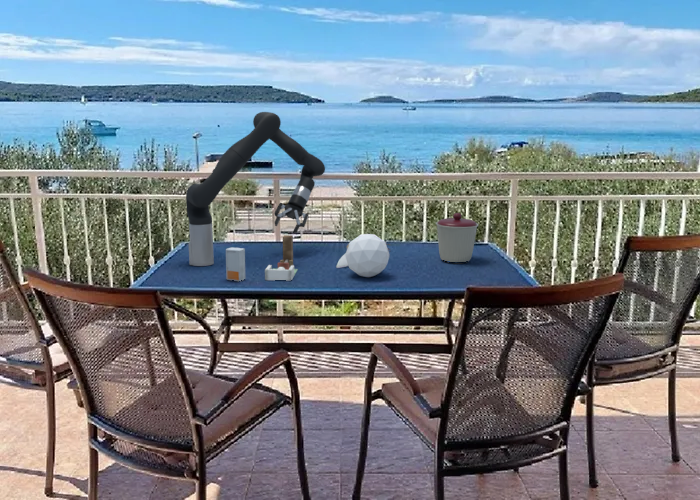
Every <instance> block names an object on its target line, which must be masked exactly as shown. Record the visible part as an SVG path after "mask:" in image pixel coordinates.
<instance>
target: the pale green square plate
mask: <svg viewBox="0 0 700 500" xmlns="http://www.w3.org/2000/svg"><path fill="white" fill-rule="evenodd" d="M272 269H275V268H274V267H272ZM298 270H299V269H298V268H294V276H295V275H296V274H297V272H298Z"/></svg>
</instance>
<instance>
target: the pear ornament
mask: <svg viewBox="0 0 700 500" xmlns="http://www.w3.org/2000/svg"><path fill="white" fill-rule="evenodd" d="M384 241H385V240H383V239H382V238H380V237H379V236H377V235H376V234H372V233H362V234H359V235H358V236H357V237H355V238H354V239H353V240H351V241H350V242H349V243H348V244H349V246H348V249H347V248H346V252H345V253H344V254H343V255H342V256H341V257H340V258H339V260H338V262H337V264H336V266H335V267H336V268H337V269H340V268H345V267H348V268H349V269H350V270H351V271H352V272H354V273H355V274H357V275H358V276H360V277H365V278H371V277H374V276H375V277H376V275H377V276H378V275H379V274H380V273H382V272H383V270H385V269H386V268H387V265H388V263H389V259H390V256H391V255H390V251H389V250H388V246H387V245H388V244H387V241H386V242H384Z"/></svg>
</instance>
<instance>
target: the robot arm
mask: <svg viewBox="0 0 700 500" xmlns="http://www.w3.org/2000/svg"><path fill="white" fill-rule="evenodd" d="M281 121H282V120H281V118H280V116H279V115H278V114H276V113H275V112H269V111H261V112H258V113H256V114H255V115H254V117H253V119H252V125H253V127H254V128H253V130H251V132H250V133H249V134H246V136H244V137H243V138H241V139H239V140H238V141H236V142H235V143H234V144H232V145H230V147H229V148H228V149H227V150H226V151H225V152H224V153H223V154H222V155H221V157H220V158H219V159H218V161H217V163H216V165H215V167H214V169H213V171H212V172H211V174H210V175H209V176H208V177H207V178H205V180H204V181H202V182H201V183H194V184H191V185H190V186H189V187H188V188H187V190H186V194H185V202H186V203H185V204H186V213H187V218H188V227H189V242H188V258H189V260H188V262H189V266H195V267H205V266H206V267H207V266H211V265H214V263H215V262H214V258H215V257H214V239H213V218H212V215H211V213H210V208H209V206H210V205H211V204H212V203H213V201H215V199H216V198H217V196H218V195H219V193H220V192H221V191H222V189H223V188H224V187H225V186H226V185H228V183H229V182H230V181H231V180H232V179H233V178H234V176H236V174H237V173H239V172H240V170H242V169H243V167H245V165H246V164H247V163H248V162H249V160H250V159H251V158H253V156H254V155H255V154H256V153H257V152H258V150H259V149H260V148H261V147H262V146H263V145H264V144H265V143H267V141H268V140H270V141H272V142H273V143H274V144H276V145H277V146H278V147H279V148H280V149H281V150H282V151H283V152H285V154H286V155H288V156H289V157H290V158H291V159H292V160H293V161H294V162H295V163H296V164H298V165H299V166H302V168H301V172H300V177H299V181H298V183H297V186H296V187H295V189H293V192H292V194H291V196H290V198H289V201H288V202H287V204H286V205H285V204H283V203H282V202H280V203H279V204H278V205H277V207H276V209H275V211H274V213H273V214H274V216H275V217H276V219H275V220H274V226H275V227H278V225H279V223H280V220H281V219H282V218H285V217H286V218H289V219H292V220H295V222H296V224H295V227H294V229H293V231H292V233H293V234H297V233H298V231H299V229H300V228H305V226H306V224H307V222H308V218H309V213H308V212H307V213H304V209H305V208H306V207H307V206H306V205H307V204H308V202H309V199H310V197H311V193H312V192H313V190H314V187H315V180H314V179H313V178H314V177H319V176H322V175H324V174H325V171H326V166H325V164H324V162H323V161H322V160H321V159H320V158H318V157H316V155H314V154H311V152H308V150H307V149H305V148H304V147H303V145H302V144H301V143H299V142H298V141H297V140H295V139H294V138H292V137H290V136H289V135H288V134H286V133H285V132H284V131H283V130H282V129H280V128H281V125H282V124H281V123H282V122H281ZM283 209H284V210H283ZM281 210H283V211H282V212H280V211H281ZM300 217H302V218H303V220H302V222H300Z"/></svg>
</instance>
